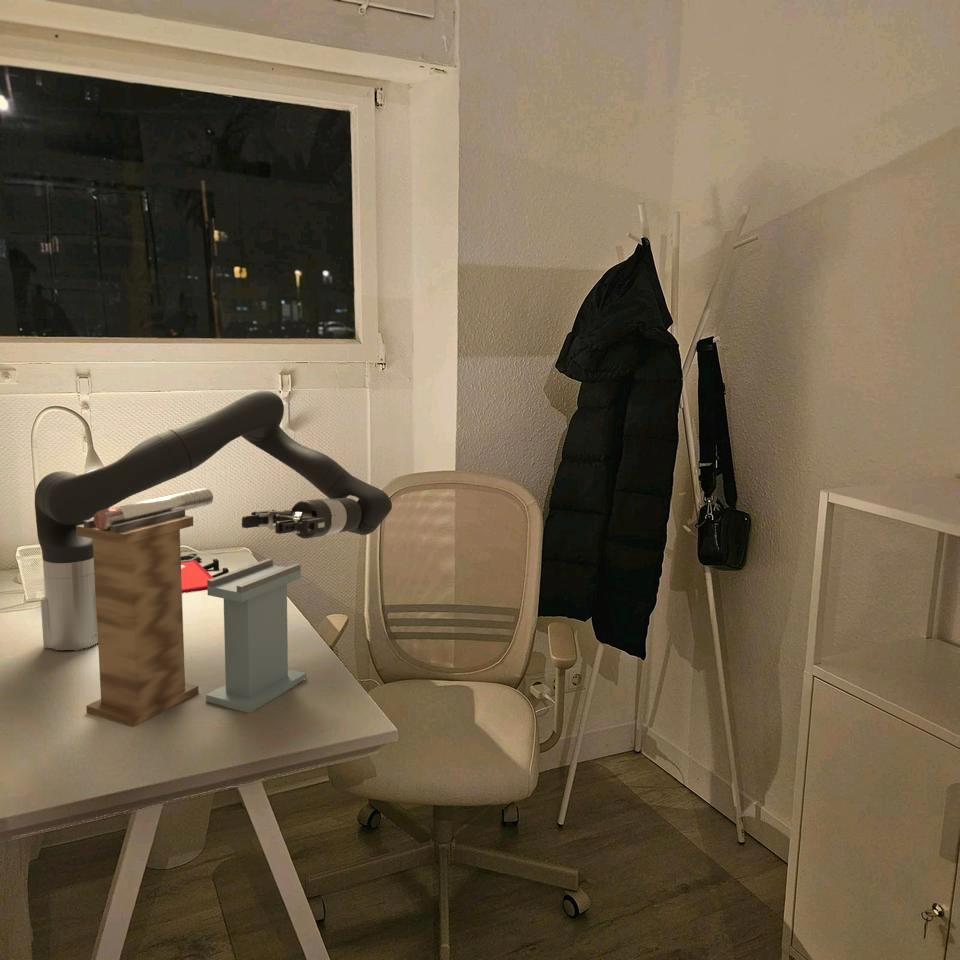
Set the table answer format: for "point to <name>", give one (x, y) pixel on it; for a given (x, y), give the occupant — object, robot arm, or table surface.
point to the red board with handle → (197, 573)
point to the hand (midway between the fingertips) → (259, 525)
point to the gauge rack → (255, 635)
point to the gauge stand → (139, 616)
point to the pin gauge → (152, 507)
